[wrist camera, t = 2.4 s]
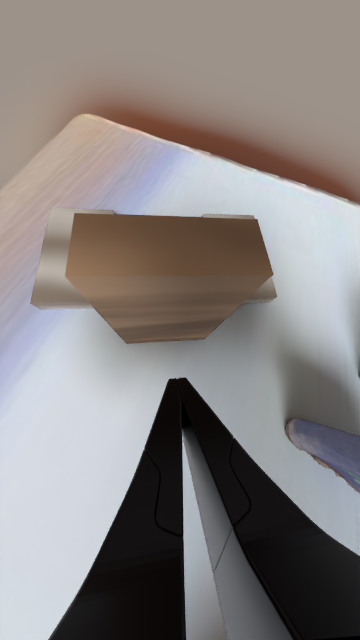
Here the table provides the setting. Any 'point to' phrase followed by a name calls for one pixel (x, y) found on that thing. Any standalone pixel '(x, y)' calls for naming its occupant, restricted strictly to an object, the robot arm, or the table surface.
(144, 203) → the table surface
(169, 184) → the table surface
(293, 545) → the robot arm
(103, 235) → the walnut plank
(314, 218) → the table surface
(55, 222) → the floor row
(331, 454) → the flask
